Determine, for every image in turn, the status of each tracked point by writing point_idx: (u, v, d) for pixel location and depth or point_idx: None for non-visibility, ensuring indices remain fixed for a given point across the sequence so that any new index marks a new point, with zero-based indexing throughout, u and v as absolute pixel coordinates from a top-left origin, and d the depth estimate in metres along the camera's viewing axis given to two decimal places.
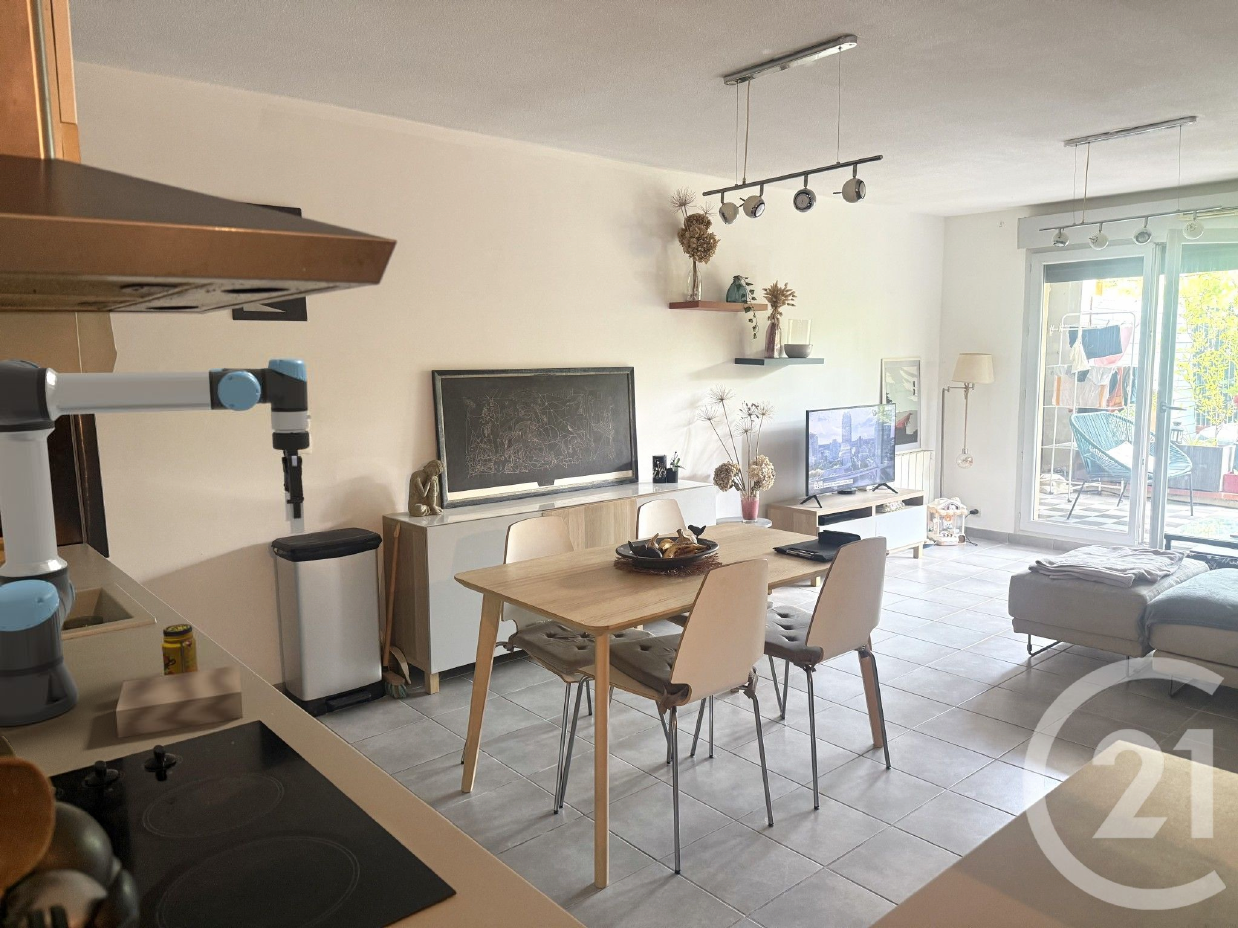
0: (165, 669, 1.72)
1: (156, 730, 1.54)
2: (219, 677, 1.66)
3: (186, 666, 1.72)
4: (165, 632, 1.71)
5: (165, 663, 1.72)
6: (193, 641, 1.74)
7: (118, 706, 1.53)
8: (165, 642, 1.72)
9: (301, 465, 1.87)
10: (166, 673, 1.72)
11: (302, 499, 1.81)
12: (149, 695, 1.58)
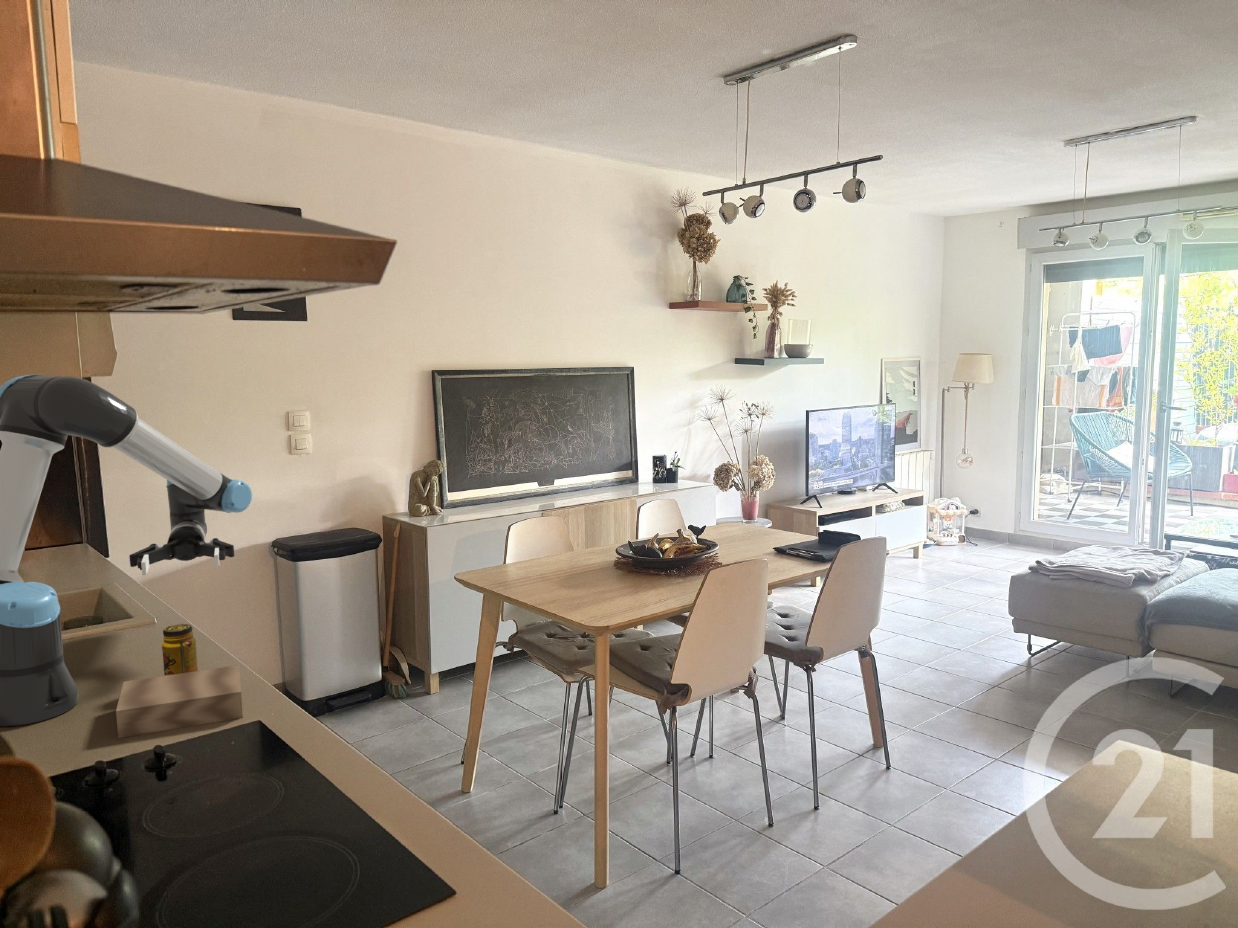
0: (165, 669, 1.72)
1: (156, 730, 1.54)
2: (219, 677, 1.66)
3: (186, 666, 1.72)
4: (165, 632, 1.71)
5: (165, 663, 1.72)
6: (193, 641, 1.74)
7: (118, 706, 1.53)
8: (165, 642, 1.72)
9: None
10: (166, 673, 1.72)
11: None
12: (149, 695, 1.58)
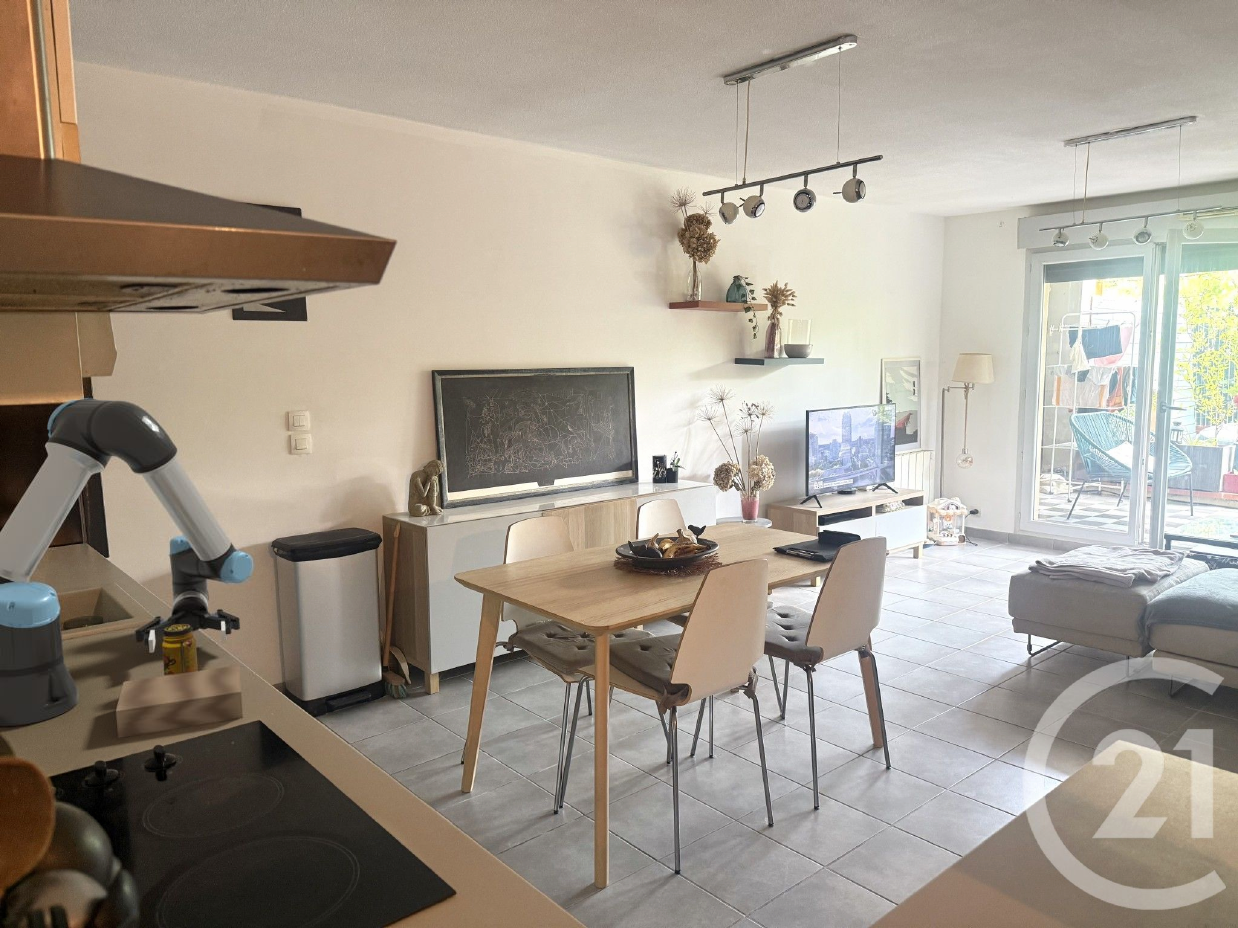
0: (165, 669, 1.72)
1: (156, 730, 1.54)
2: (219, 677, 1.66)
3: (186, 666, 1.72)
4: (165, 632, 1.71)
5: (165, 663, 1.72)
6: (193, 641, 1.74)
7: (118, 706, 1.53)
8: (165, 642, 1.72)
9: None
10: (166, 673, 1.72)
11: (239, 627, 1.92)
12: (149, 695, 1.58)
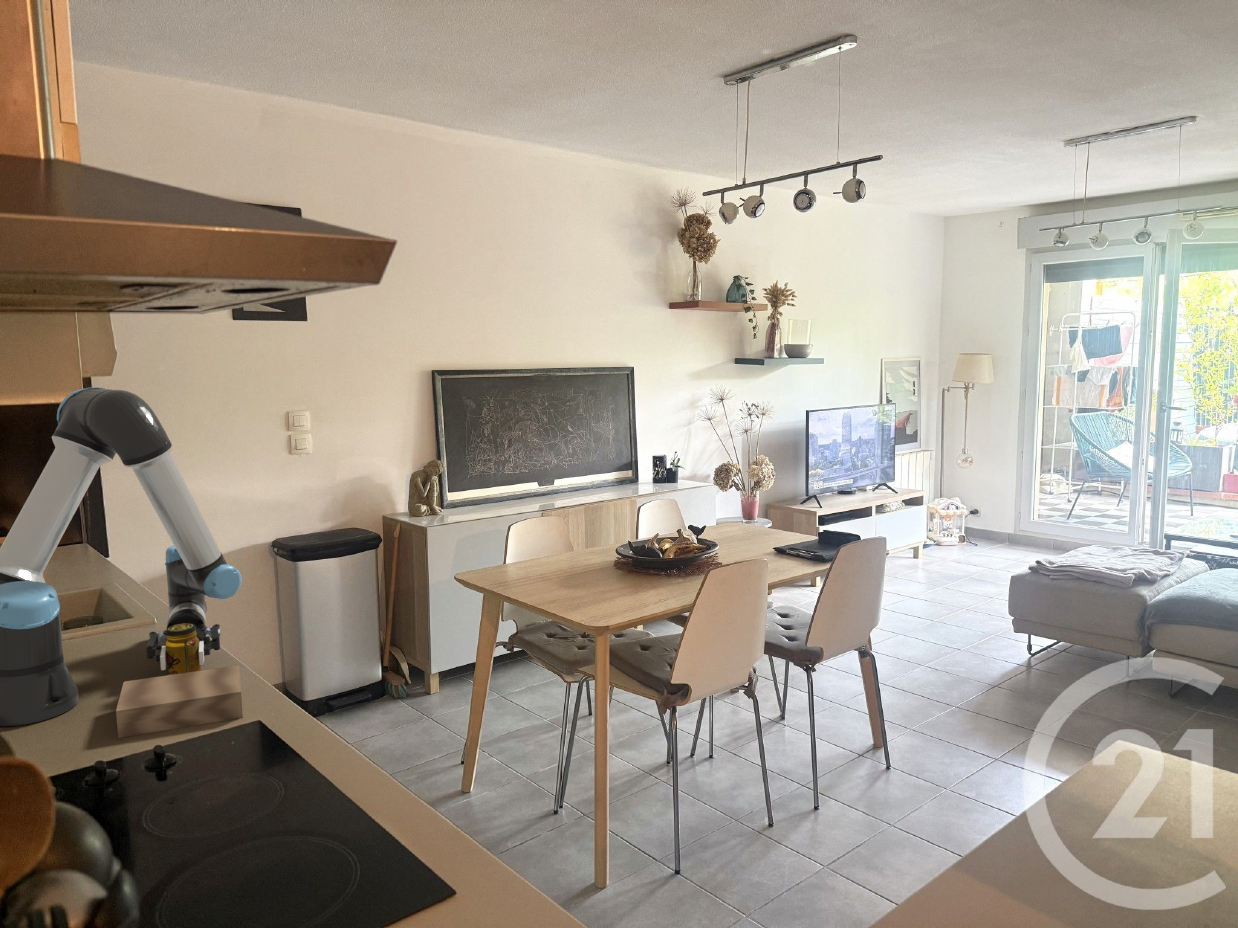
0: (169, 669, 1.72)
1: (156, 730, 1.54)
2: (219, 677, 1.66)
3: (190, 666, 1.73)
4: (169, 632, 1.71)
5: (169, 663, 1.72)
6: (197, 640, 1.74)
7: (118, 706, 1.53)
8: (169, 642, 1.72)
9: None
10: (170, 673, 1.72)
11: (219, 648, 1.80)
12: (149, 695, 1.58)
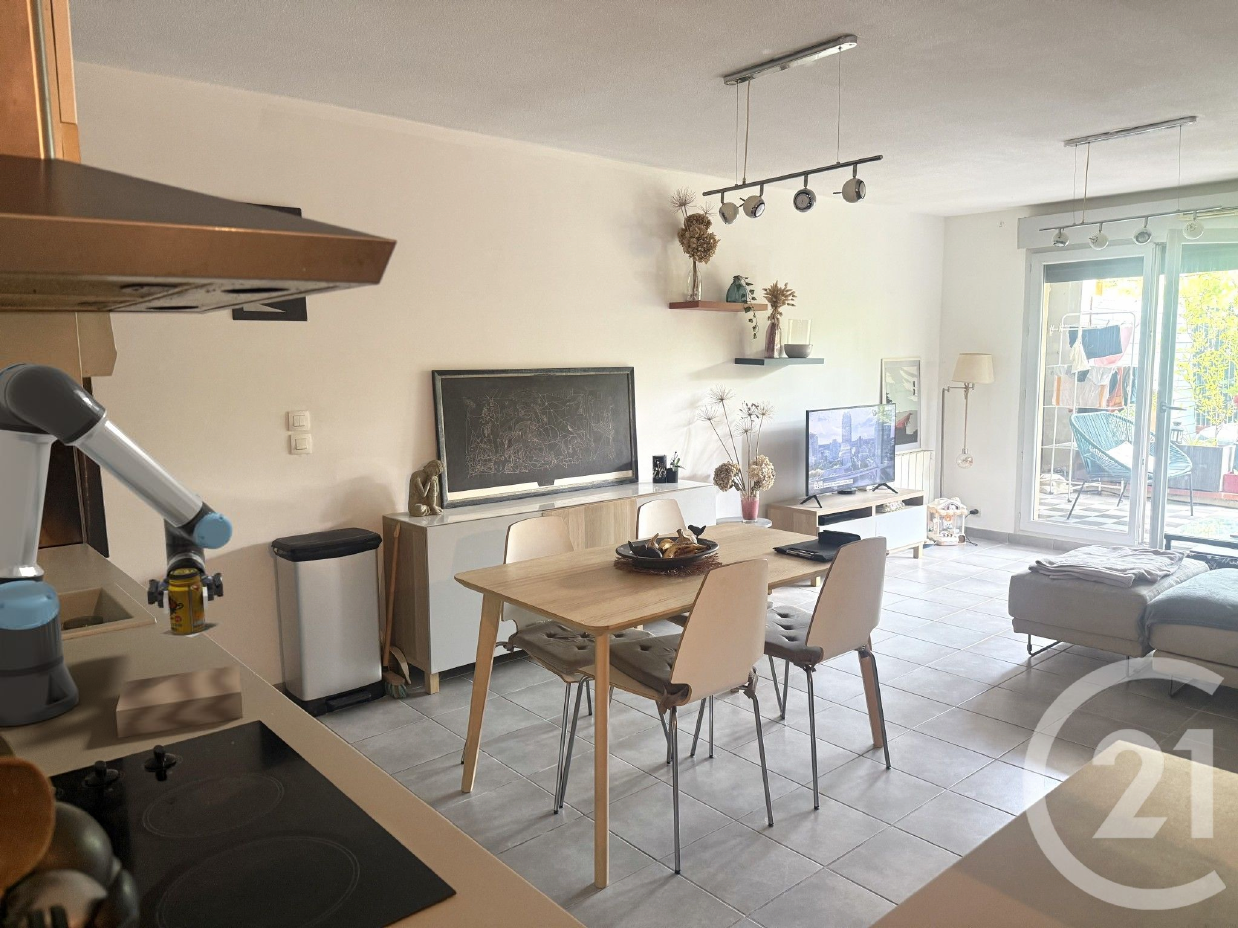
0: (172, 614, 1.67)
1: (156, 730, 1.54)
2: (219, 677, 1.66)
3: (194, 611, 1.68)
4: (172, 575, 1.66)
5: (172, 607, 1.67)
6: (200, 585, 1.69)
7: (118, 706, 1.53)
8: (172, 586, 1.67)
9: None
10: (173, 618, 1.67)
11: (222, 595, 1.75)
12: (149, 695, 1.58)
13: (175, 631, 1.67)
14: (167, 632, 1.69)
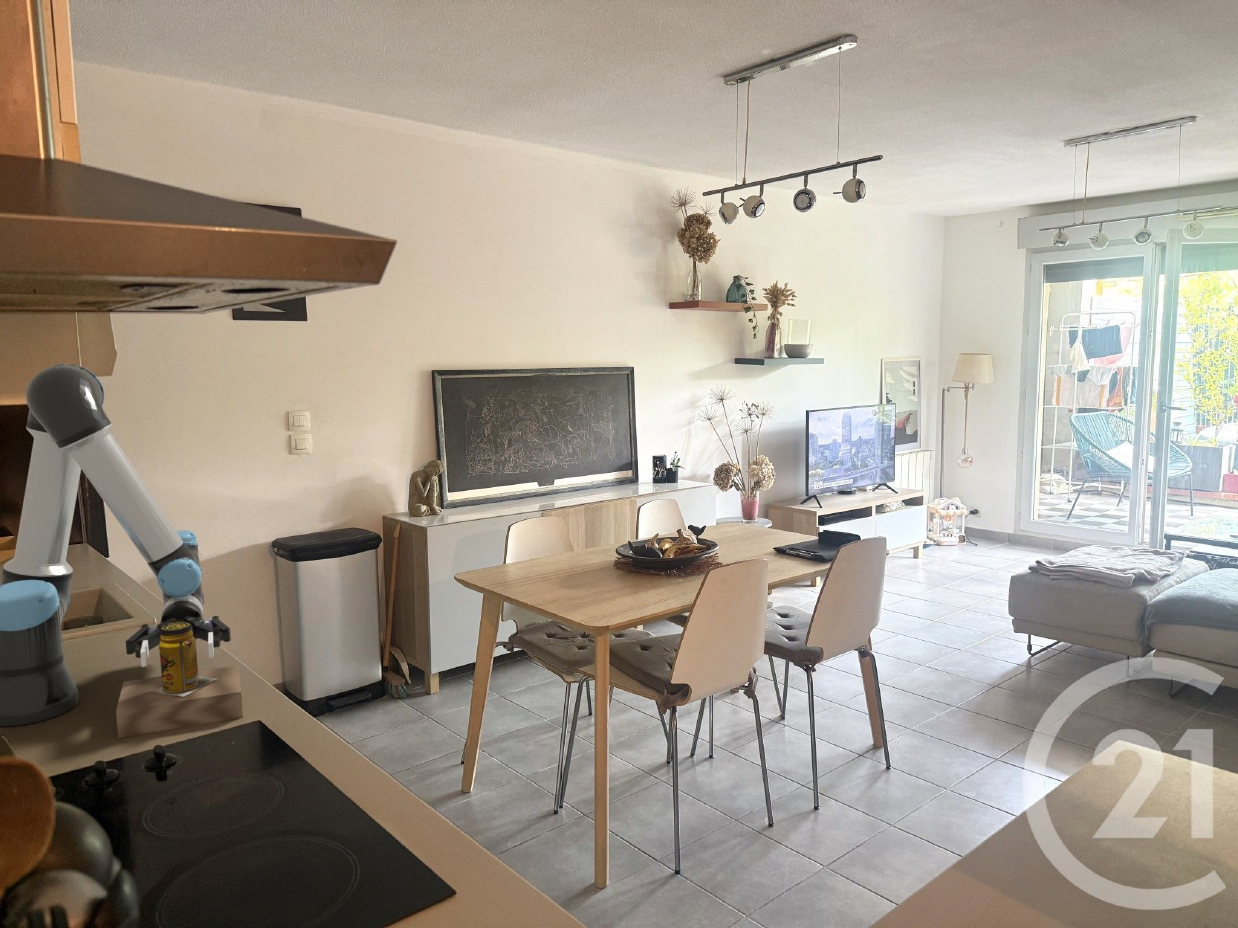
0: (163, 671, 1.58)
1: (156, 730, 1.54)
2: (219, 677, 1.66)
3: (186, 668, 1.58)
4: (163, 631, 1.57)
5: (163, 665, 1.58)
6: (193, 640, 1.60)
7: (118, 706, 1.53)
8: (163, 642, 1.57)
9: None
10: (164, 676, 1.58)
11: (230, 639, 1.67)
12: (149, 695, 1.58)
13: (166, 689, 1.58)
14: (158, 690, 1.60)
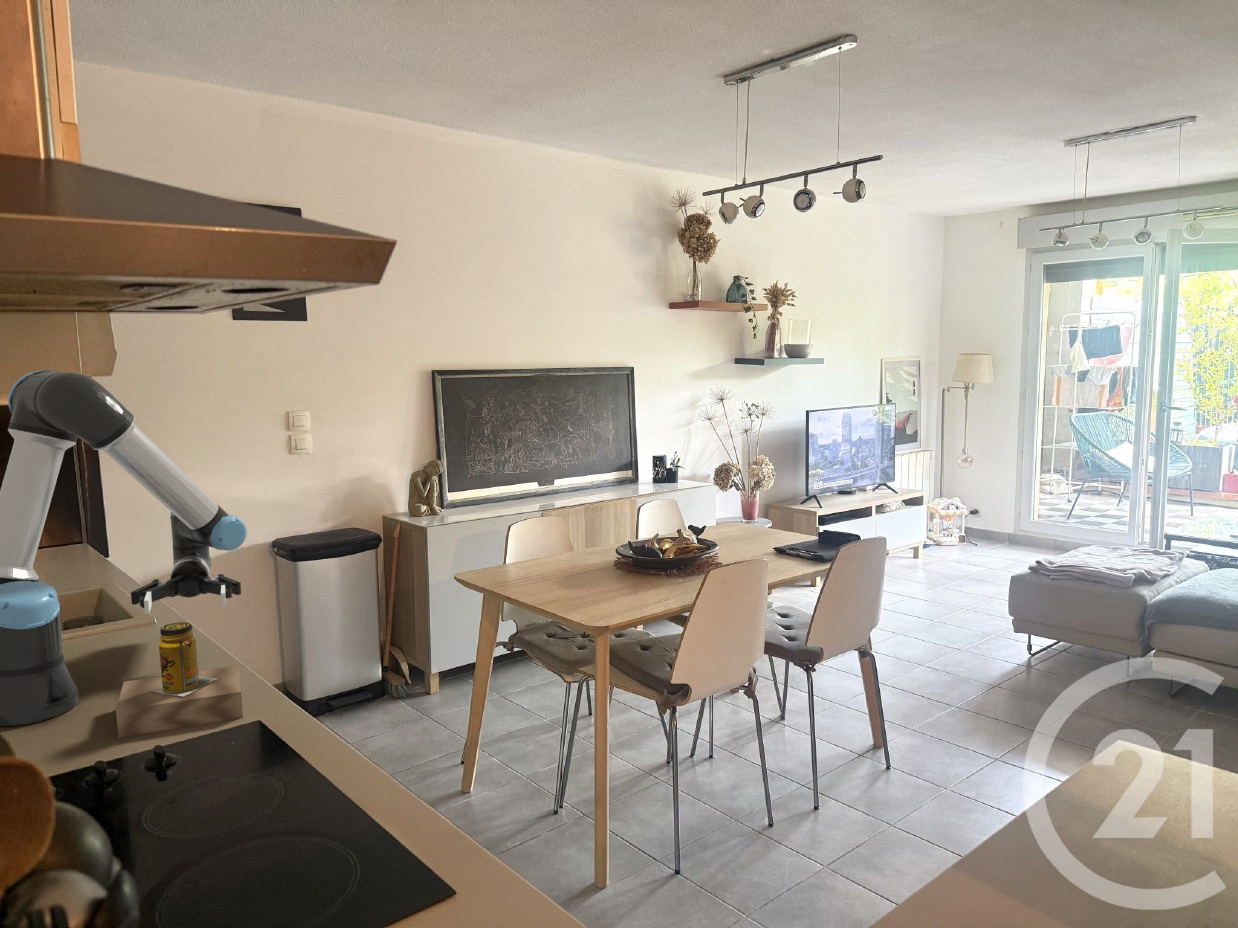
0: (163, 671, 1.58)
1: (156, 730, 1.54)
2: (219, 677, 1.66)
3: (186, 668, 1.58)
4: (163, 631, 1.57)
5: (163, 665, 1.58)
6: (193, 640, 1.60)
7: (118, 706, 1.53)
8: (163, 642, 1.57)
9: None
10: (164, 676, 1.58)
11: (240, 592, 1.83)
12: (149, 695, 1.58)
13: (166, 689, 1.58)
14: (158, 690, 1.60)
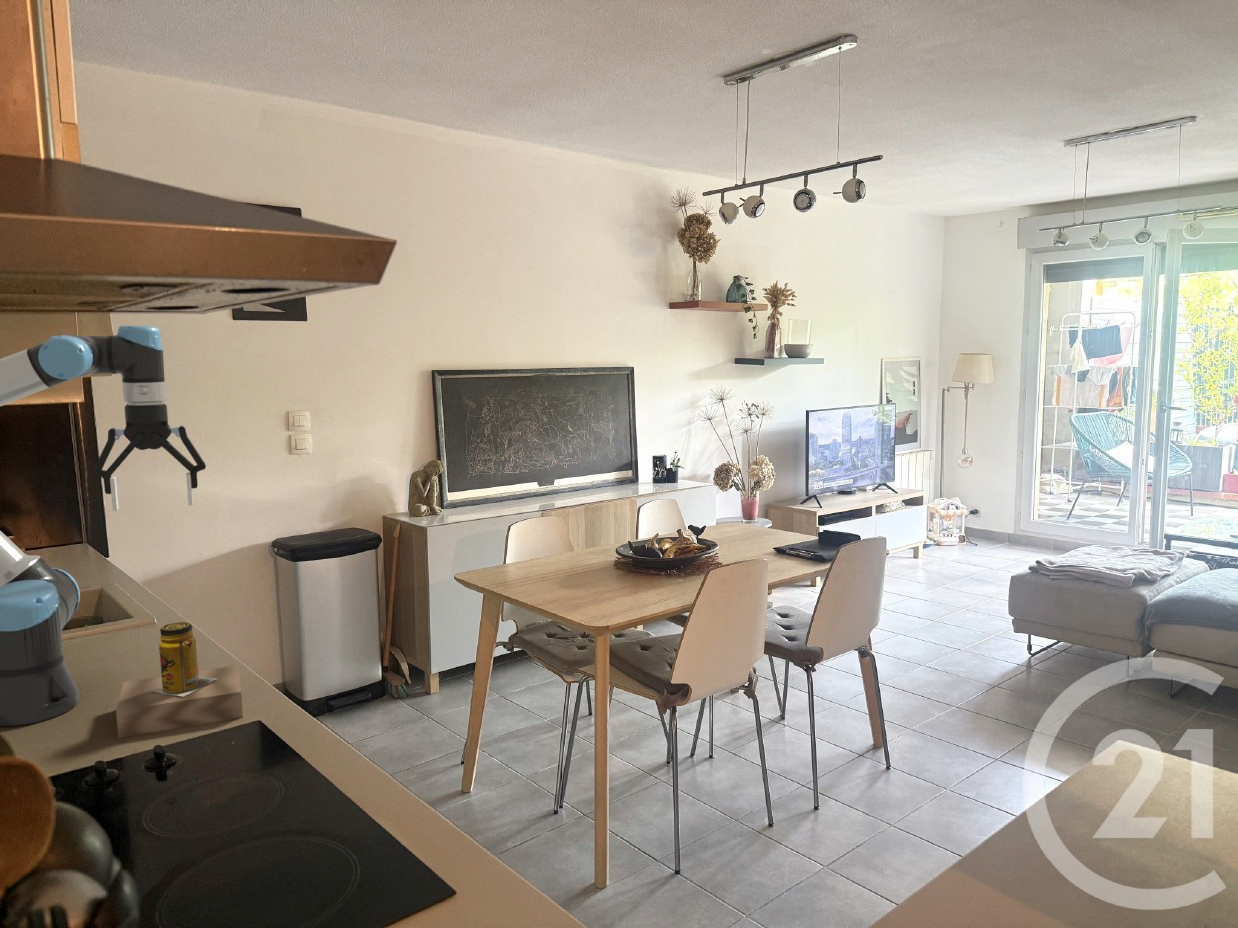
0: (163, 671, 1.58)
1: (156, 730, 1.54)
2: (219, 677, 1.66)
3: (186, 668, 1.58)
4: (163, 631, 1.57)
5: (163, 665, 1.58)
6: (193, 640, 1.60)
7: (118, 706, 1.53)
8: (163, 642, 1.57)
9: (131, 441, 1.73)
10: (164, 676, 1.58)
11: (92, 473, 1.72)
12: (149, 695, 1.58)
13: (166, 689, 1.58)
14: (158, 690, 1.60)
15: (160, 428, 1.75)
